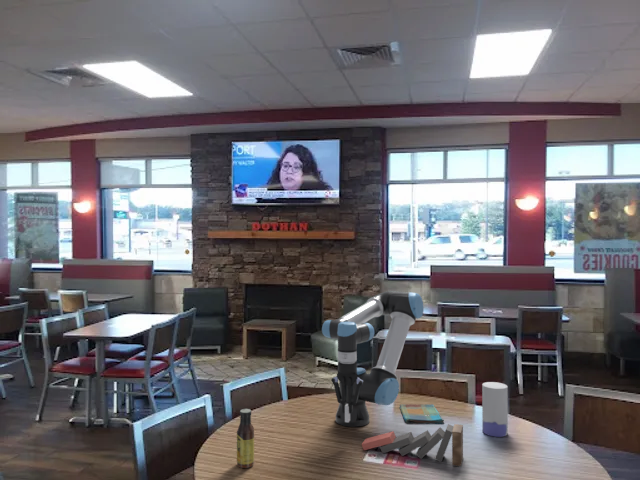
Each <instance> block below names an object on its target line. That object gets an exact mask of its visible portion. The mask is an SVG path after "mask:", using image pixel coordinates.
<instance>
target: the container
mask: <svg viewBox="0 0 640 480" xmlns="http://www.w3.org/2000/svg"><path fill="white" fill-rule="evenodd" d="M481 385H482V391H481V393H482V394H481V395H482V397H481V401H482V403H481V404H482V408H481V409H482V413H481V414H482V419H481V420H482V421H481V422H482V426H481V427H482V433H484V434H485V435H487V436H490V437H498V438H499V437H501V438H503V437H507V435H508V425H509V424H508V422H509V421H508V419H509V418H508V416H509V415H508V414H509V413H508V412H509V410H508V409H509V408H508V407H509V406H508V405H509V404H508V399H509V398H508V394H509V393H508V392H509V391H508V385H507V384H505V383H501V382H496V381H486V382H483V383H482V384H481Z"/></svg>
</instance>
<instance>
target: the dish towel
mask: <svg viewBox="0 0 640 480" xmlns="http://www.w3.org/2000/svg"><path fill="white" fill-rule="evenodd" d="M399 406H400V407H399V410H400V409H401V410H400V412H401V415H402V418H403V420H404V421H405V423H406V424H408V423H409V424H418V423H435V424H434V425H443V424H445V422H444V421H445V419H443V418H442V415H441V414H440V412H439V411H438V410H437V408H436V407H435V405H434V404H433V403H431V404H428V403H427V404H423V403H422V404H413V403H411V404H402V403H401V404H399ZM425 415H427V416H425ZM428 415H429V416H428Z"/></svg>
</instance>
